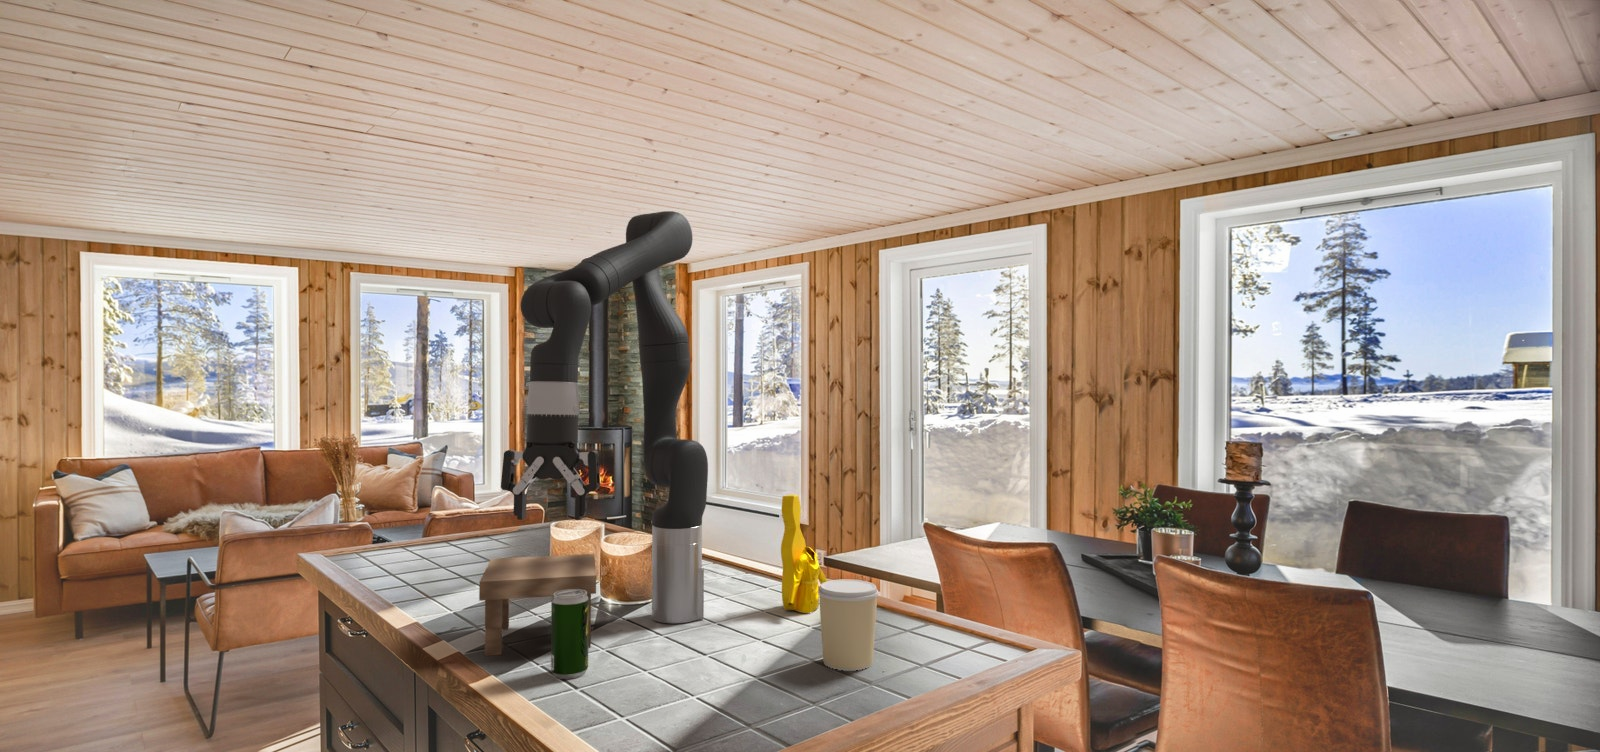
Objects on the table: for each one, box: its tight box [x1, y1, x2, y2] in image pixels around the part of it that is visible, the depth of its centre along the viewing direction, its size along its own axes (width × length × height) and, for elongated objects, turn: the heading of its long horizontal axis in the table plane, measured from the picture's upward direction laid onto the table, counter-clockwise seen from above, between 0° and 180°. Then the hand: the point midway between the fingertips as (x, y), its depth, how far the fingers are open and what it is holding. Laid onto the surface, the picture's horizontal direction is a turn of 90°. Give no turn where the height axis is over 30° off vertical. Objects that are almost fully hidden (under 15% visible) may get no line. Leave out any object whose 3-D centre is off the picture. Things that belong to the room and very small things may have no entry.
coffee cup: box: [818, 578, 879, 672], centre depth 128 cm, size 9×9×12 cm
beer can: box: [550, 589, 589, 680], centre depth 123 cm, size 5×5×12 cm
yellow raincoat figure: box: [780, 494, 828, 614], centre depth 159 cm, size 18×8×22 cm, turn 156°
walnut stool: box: [478, 553, 597, 656], centre depth 141 cm, size 18×18×12 cm
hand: (550, 519), depth 124 cm, fingers open, 8 cm apart
